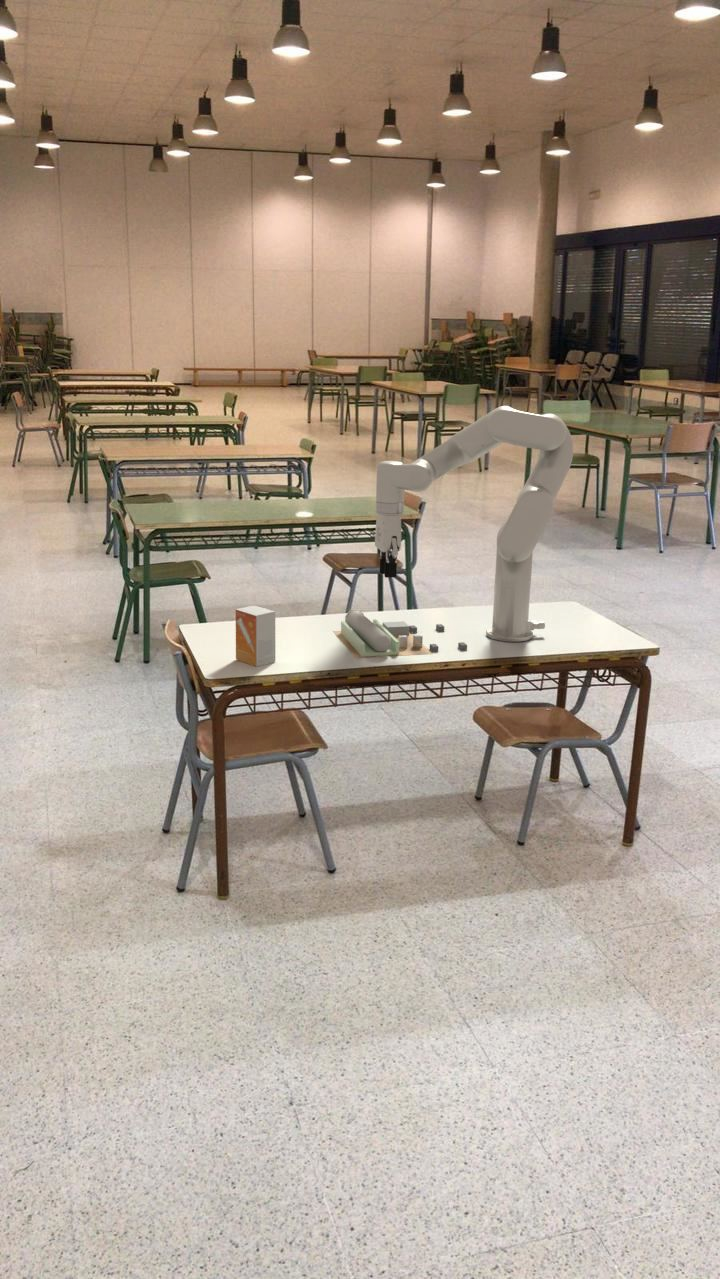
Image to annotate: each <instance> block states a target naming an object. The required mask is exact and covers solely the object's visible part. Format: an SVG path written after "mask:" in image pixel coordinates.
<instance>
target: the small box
mask: <svg viewBox="0 0 720 1279" xmlns="http://www.w3.org/2000/svg"><path fill="white" fill-rule="evenodd" d="M235 660H237V661H240V662H243V663H246V664H249V665H251V666H254V667H255V668H258V667H261V666H267V665H269V663H270V664H272V663H273V664H274V663H275V662H276V611H275V610H271V609H268V608H264V607H260V606H258V605H249V606H244V607H239V608H236V609H235Z"/></svg>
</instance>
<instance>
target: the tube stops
mask: <svg viewBox="0 0 720 1279" xmlns="http://www.w3.org/2000/svg"><path fill="white" fill-rule="evenodd" d="M435 630H437V631H438V632H445V625H443V624H441V623H438V624H435ZM409 632H410V633H411V634H416V633H418V627H417V626H416V625H414V624H413V625H409ZM457 647H458V649H459V650H460V651H468V644H467V643H466V642H464V641H462V642H458V645H457ZM429 650H430V651H431V652H432V653H438V652H439V646H438V644H436V643H430V644H429Z"/></svg>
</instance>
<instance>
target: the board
mask: <svg viewBox="0 0 720 1279" xmlns="http://www.w3.org/2000/svg"><path fill="white" fill-rule="evenodd" d="M332 632H333V633H334V635H336V637H337V638H338V639H339V640H340V641H341V642H342V643H343V645H344V646H345V647H346V648H347V650H348V651H349V652H350V653H351V654H352V655H353V657H354V658H355V659H366V658H367V659H369V658H385V657H387V658H388V657H389V658H390V657H402V656H403V657H404V656H405V657H406V656H422V655H425V656H426V655H434V652H432V651H431V650H430V649H428V648H427V647H426V646H425V645H424V644H423V643H422V647H420V648H414V647H413V635H414V634H413V633H411V632H410V631H409V635H406V636H407V637H408V641H407V648H402V649H400V648H399V655H381V656H363V657H362V656H361V655H360V654H359V653H358V652H357V651H356V649H355V648H354V647H353V646H352V645H351V644H350V643H349V641H348V640H347V639H346V638H345V637H344V636H343V635H342V633H341V630H333V631H332ZM394 637H395V638H396V639H397V640H398V636H394Z"/></svg>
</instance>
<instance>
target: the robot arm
mask: <svg viewBox="0 0 720 1279" xmlns="http://www.w3.org/2000/svg"><path fill="white" fill-rule="evenodd" d="M573 442H574V441H573V438H572V435H571V432H570V430H569V428H568V426H567V425H566V423H565V422H564V420H563V419H562V418H561V417H560V416H558V415H556V414H555V413H545V414H537V413H536V414H535V413H530V412H526V411H522V410H517V409H515V408H513V407H511V406H509V405H501V406H499V407H496V408H494V409H493V410H491V411H490V412H488V413H486V414H485V415H484V416H482V417H480V418H478V419H477V420H476V421H474V422H472V423H471V424H469V425H468V426H466V427H464V428H462V429H461V430H459V431H457V433H455V434H453V435H452V436H451V437H449V438H448V439H447V440H446V441H444V442H443V443H441V444H439V445H438V446H436V447H435V448H433V449H431V450H430V451H428V452H427V453H425V454H424V455H422V456H421V457H419V458H417V459H415V460H414V461H413V462H412V463H406V464H405V463H403V462H401V461H396V460H384V461H380V462H378V463H377V465H376V484H375V485H376V489H375V490H376V491H375V497H376V498H375V514H376V522H375V531H374V532H375V534H374V546H375V548H377V549H378V550H379V551H380V552H379V573H380V574H382V575H383V574H384V578H385V579H387V578H396V577H397V571H398V570H397V566H398V565H397V564H398V555H399V551H400V550H401V547H402V518H401V517H402V516H403V515H404V514H405V513H404V512H405V491H410V492H416V493H422V492H425V491H426V490H428V489H429V488H430V487H431V485H432V484H433V483H434V482H436V481H437V480H438V479H440V478H442V477H444V476H445V475H447V474H448V473H450V472H452V471H453V470H456V469H457V468H459V467H461V466H465V465H468V464H471V463H473V462H475V461H476V460H478V459H481V457H483V456H485V455H486V454H488V453H489V452H491V451H492V450H494V449H496V448H497V447H498V446H501V445H502V444H508V445H511V446H512V445H513V446H516V447H521V448H522V447H524V448H527V449H528V448H529V449H534V450H539V455H538V458H537V461H536V462H535V463H534V466H533V469H532V471H531V473H530V475H529V477H528V478H527V480H526V482H525V483H524V486H523V487H522V488H521V490H520V492H519V494H518V495H517V497H516V501H515V504H514V506H513V509H512V510H511V513H510V514H509V516H508V518H507V520H506V522H505V523H503V524H502V525H501V527H500V528H499V529H498V532H497V536H496V554H495V556H496V557H495V574H494V591H493V592H494V593H493V607H492V608H493V609H492V610H493V611H492V623H491V625H492V626H491V627H489V628H487V629H486V630H485V631H486V632H485V635H486V636H487V637H488V638H490V639H492V640H497V641H500V642H513V643H516V642H526V641H530V640H531V639H533V637H534V633H533V631H534V630H536V629H537V630H545V628H546V623H545V622H544V621H537V620H531V619H529V612H530V602H531V601H530V600H531V599H530V597H531V584H532V582H531V581H532V573H533V572H532V570H533V557H534V556H533V553H534V550H535V549H536V546H537V544H538V543H539V541H540V539H541V536H542V535H543V533H544V532H545V529H546V528H547V526H548V524H549V522H550V519H551V518H552V515H553V512H554V510H555V499H556V498H557V496H558V493H559V491H560V489H561V487H562V485H563V483H564V481H565V479H566V477H567V475H568V472H569V470H570V468H571V465H572V462H573V459H574V458H573V457H574V443H573Z"/></svg>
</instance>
